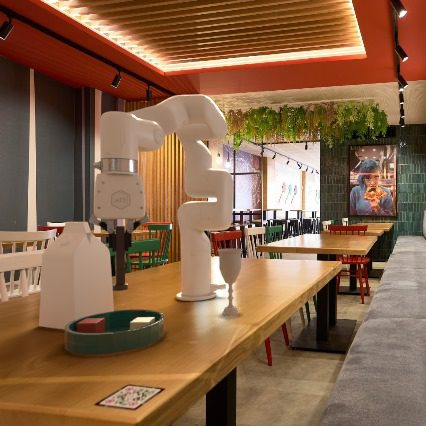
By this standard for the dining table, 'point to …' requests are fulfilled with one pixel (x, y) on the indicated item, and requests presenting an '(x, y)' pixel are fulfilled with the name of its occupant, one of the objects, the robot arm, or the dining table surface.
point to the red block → (91, 325)
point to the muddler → (120, 260)
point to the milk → (74, 277)
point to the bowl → (115, 333)
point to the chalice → (230, 274)
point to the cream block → (141, 322)
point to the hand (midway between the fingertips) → (120, 250)
